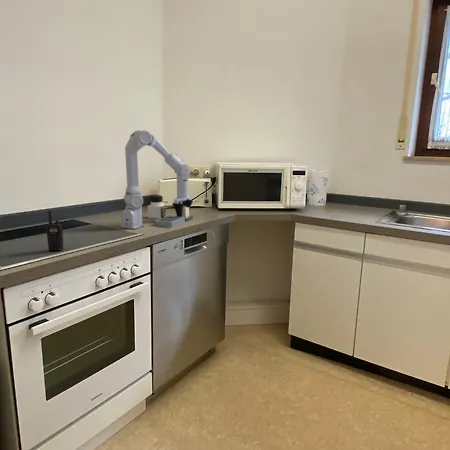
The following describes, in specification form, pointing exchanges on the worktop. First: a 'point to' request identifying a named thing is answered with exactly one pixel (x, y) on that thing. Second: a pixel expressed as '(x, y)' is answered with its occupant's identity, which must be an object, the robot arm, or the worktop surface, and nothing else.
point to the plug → (185, 212)
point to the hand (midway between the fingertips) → (183, 215)
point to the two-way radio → (54, 234)
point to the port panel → (169, 221)
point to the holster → (189, 218)
